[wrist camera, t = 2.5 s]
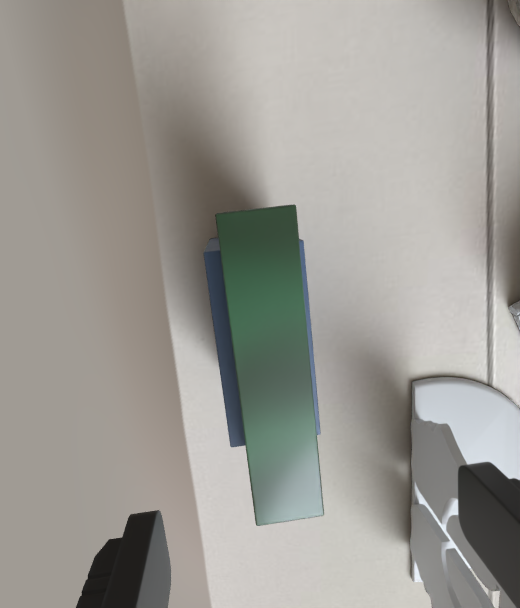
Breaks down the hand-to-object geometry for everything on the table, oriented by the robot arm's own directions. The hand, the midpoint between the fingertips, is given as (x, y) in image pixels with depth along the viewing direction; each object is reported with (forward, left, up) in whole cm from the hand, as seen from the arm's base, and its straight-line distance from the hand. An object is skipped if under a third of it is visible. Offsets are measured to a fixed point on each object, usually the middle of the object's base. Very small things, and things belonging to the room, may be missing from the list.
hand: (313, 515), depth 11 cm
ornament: (+27, -8, -26) cm, 39 cm away
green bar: (0, 0, -14) cm, 14 cm away
